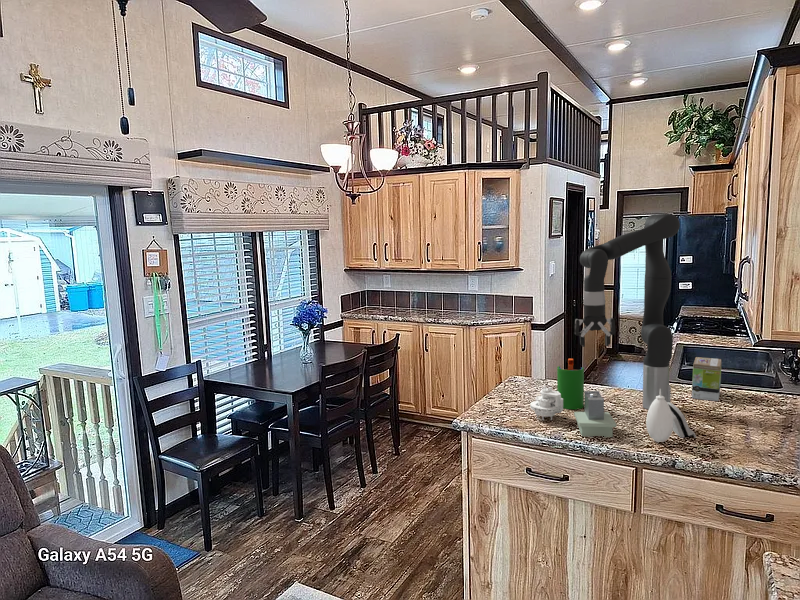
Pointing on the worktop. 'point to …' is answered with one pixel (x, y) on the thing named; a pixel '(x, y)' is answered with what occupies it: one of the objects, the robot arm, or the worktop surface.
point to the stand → (595, 425)
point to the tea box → (706, 378)
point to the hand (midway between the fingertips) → (595, 346)
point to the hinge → (680, 422)
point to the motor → (571, 386)
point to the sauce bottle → (659, 419)
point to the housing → (594, 405)
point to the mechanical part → (547, 403)
